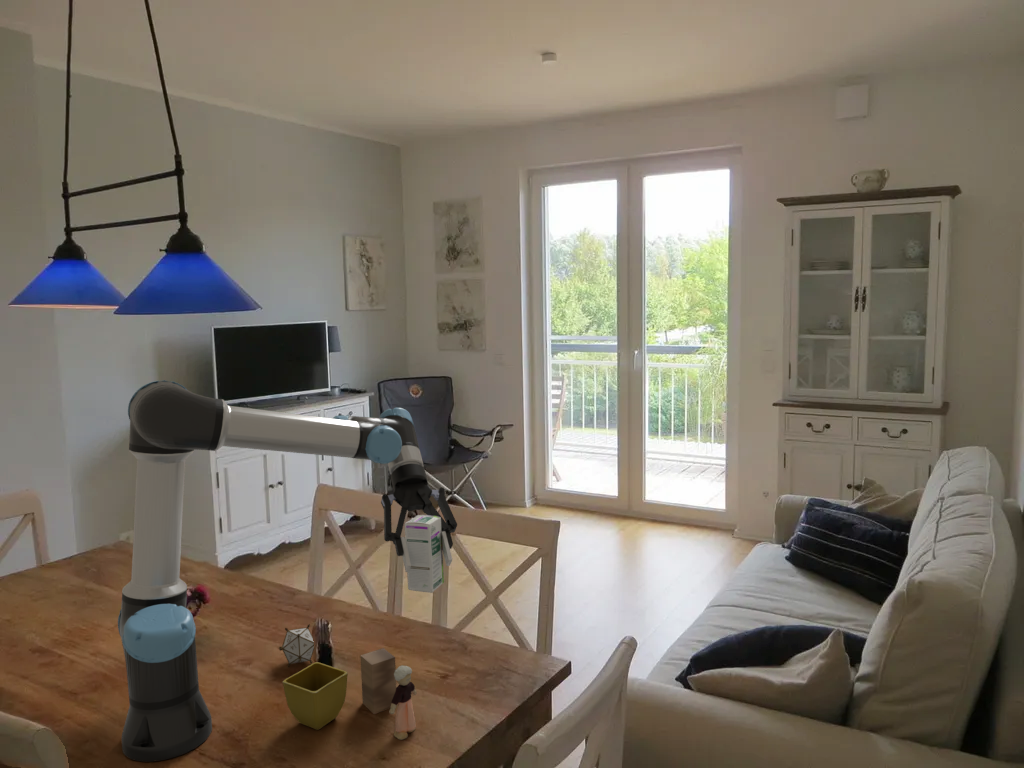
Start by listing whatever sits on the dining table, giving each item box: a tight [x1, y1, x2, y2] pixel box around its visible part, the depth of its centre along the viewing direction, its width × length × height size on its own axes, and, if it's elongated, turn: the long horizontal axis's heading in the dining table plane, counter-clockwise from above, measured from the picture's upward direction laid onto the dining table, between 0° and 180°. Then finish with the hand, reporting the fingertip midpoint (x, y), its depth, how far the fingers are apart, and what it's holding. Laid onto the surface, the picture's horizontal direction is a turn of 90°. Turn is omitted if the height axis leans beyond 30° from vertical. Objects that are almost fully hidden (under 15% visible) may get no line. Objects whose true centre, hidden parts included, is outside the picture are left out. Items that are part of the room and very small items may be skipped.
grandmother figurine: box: [388, 665, 418, 740], centre depth 141 cm, size 8×4×13 cm, turn 164°
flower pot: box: [281, 661, 349, 730], centre depth 145 cm, size 9×9×9 cm
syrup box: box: [404, 514, 445, 594], centre depth 158 cm, size 6×6×14 cm
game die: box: [278, 623, 315, 668], centre depth 169 cm, size 9×8×10 cm
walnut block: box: [359, 647, 397, 715], centre depth 151 cm, size 5×5×10 cm
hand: (429, 565), depth 155 cm, fingers closed on syrup box, 8 cm apart
